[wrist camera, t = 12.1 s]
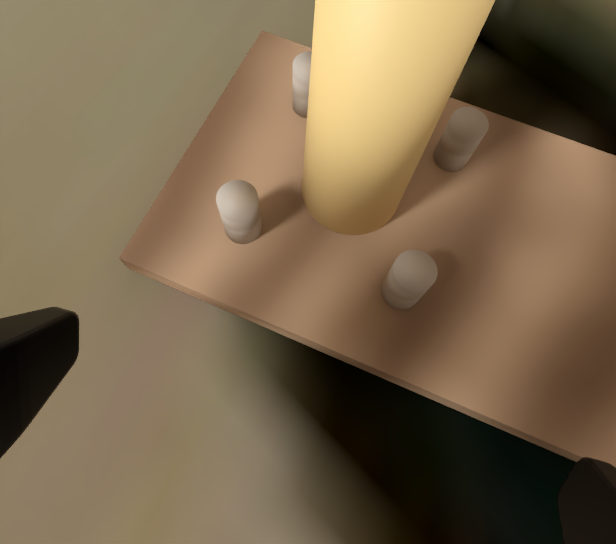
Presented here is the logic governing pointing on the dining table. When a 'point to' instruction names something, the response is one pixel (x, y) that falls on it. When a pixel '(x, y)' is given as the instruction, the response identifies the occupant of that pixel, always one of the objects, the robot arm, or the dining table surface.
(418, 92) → the post
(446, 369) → the board
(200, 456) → the dining table surface
